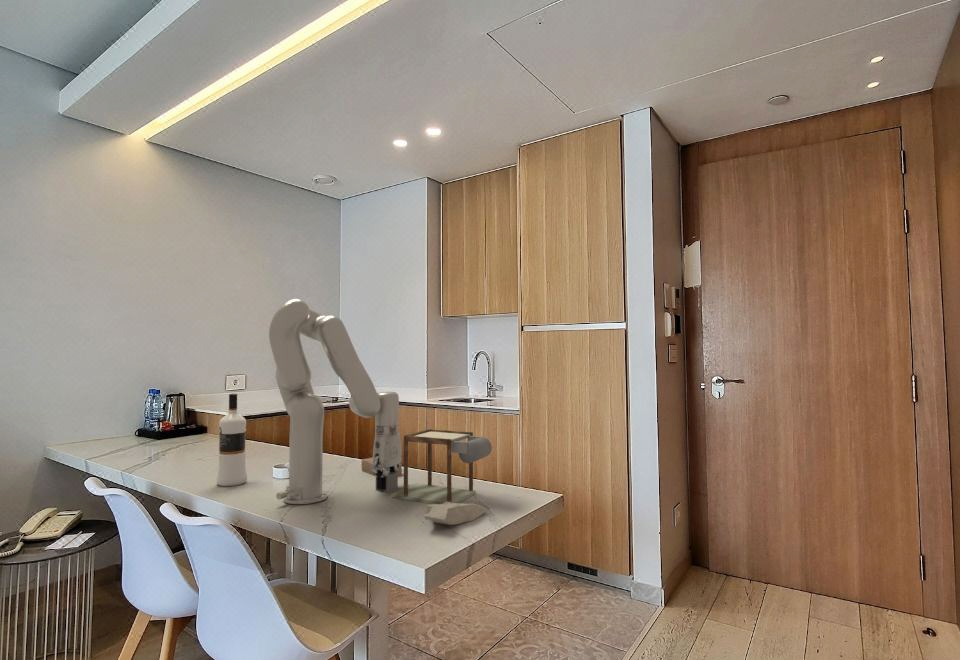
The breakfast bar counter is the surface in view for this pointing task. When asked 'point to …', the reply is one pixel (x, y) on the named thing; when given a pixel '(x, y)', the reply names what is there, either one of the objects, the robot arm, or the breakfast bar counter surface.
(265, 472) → the breakfast bar counter surface
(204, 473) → the breakfast bar counter surface
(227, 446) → the vodka
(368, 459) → the brick
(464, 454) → the trapdoor
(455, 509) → the rock
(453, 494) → the trapdoor frame
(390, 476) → the stone block
